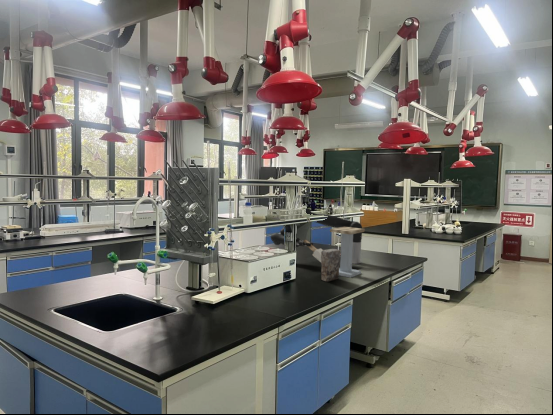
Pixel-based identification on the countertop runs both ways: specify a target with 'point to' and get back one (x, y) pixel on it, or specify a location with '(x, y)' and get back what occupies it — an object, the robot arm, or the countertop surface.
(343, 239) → the shelf stand
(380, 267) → the countertop surface
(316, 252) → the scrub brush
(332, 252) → the stone block
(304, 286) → the countertop surface
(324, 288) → the countertop surface
